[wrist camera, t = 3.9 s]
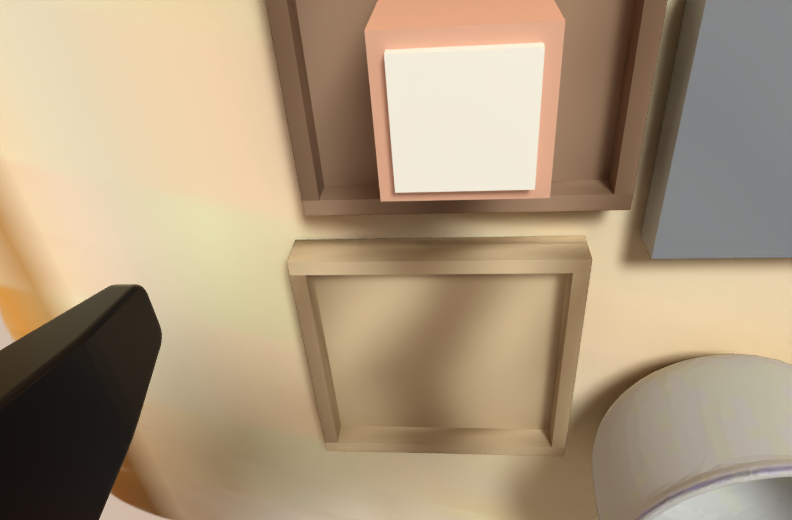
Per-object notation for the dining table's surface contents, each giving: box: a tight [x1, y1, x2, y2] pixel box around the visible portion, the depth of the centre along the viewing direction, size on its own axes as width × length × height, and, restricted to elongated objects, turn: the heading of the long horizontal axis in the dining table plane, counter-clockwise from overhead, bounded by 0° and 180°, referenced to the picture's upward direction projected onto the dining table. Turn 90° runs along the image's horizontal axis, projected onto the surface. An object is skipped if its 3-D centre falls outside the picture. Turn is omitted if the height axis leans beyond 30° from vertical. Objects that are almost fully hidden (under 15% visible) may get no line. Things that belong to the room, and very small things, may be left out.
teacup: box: [592, 354, 792, 520], centre depth 24 cm, size 14×11×8 cm
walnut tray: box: [266, 0, 667, 216], centre depth 18 cm, size 11×11×2 cm
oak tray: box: [287, 236, 592, 456], centre depth 26 cm, size 11×11×2 cm
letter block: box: [364, 0, 565, 202], centre depth 16 cm, size 4×4×6 cm
